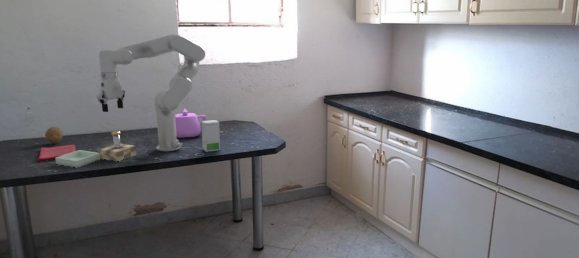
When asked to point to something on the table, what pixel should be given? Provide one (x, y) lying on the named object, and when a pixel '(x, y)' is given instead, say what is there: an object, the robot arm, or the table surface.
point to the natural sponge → (54, 135)
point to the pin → (116, 139)
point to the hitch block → (117, 152)
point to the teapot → (188, 124)
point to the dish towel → (55, 152)
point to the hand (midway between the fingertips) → (113, 109)
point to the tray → (77, 158)
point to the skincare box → (210, 135)
